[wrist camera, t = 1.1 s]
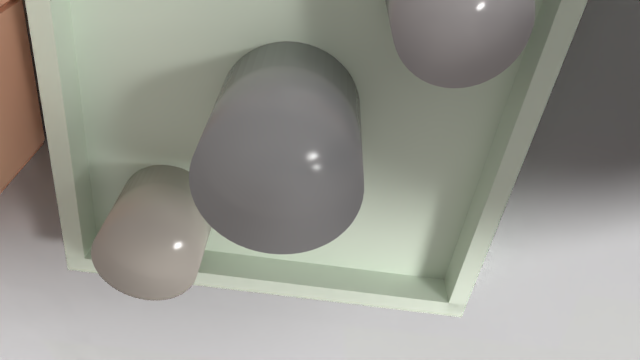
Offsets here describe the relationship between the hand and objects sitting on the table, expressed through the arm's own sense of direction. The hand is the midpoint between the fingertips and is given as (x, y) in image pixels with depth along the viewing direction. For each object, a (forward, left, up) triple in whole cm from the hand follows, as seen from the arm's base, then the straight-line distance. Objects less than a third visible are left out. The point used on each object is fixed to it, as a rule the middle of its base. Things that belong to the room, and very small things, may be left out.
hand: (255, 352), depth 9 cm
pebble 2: (-3, -4, -9) cm, 10 cm away
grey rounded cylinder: (0, 0, -9) cm, 9 cm away
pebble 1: (+4, +4, -9) cm, 10 cm away
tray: (0, 0, -9) cm, 9 cm away
